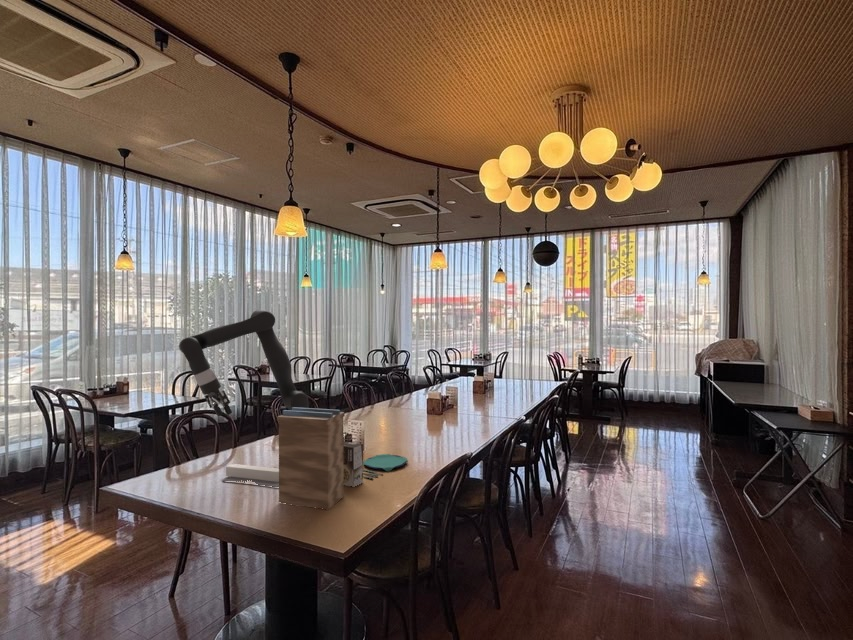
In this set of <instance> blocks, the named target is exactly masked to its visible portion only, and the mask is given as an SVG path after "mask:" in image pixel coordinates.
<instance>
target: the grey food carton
mask: <svg viewBox="0 0 853 640" xmlns="http://www.w3.org/2000/svg"><path fill="white" fill-rule="evenodd" d="M363 462H364V444H363V443H359V442H353V441H343V486H346V487H350V486H352V487H351V488H355V486H356V487H357V485H358V486H359V484H360V485H362V484H364V478H363V476H364V474H363V473H364V471H363V469H364V463H363ZM361 483H362V484H361Z"/></svg>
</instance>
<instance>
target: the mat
mask: <svg viewBox="0 0 853 640" xmlns="http://www.w3.org/2000/svg"><path fill="white" fill-rule="evenodd" d="M222 480H223V481H236V482H237V481H238V482H239V481H240V482H241V480H242V482H243V481H244V483H245V481H246V482H247V480H248V481H249V480H250V481H251V480H252V482H255V483H256V484H258V485H265V486H272V487H279V482H276V481H267V480H258V479H249V478H240V477H231V476H227V477H226V478H225V479H222Z"/></svg>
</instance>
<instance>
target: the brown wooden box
mask: <svg viewBox="0 0 853 640" xmlns="http://www.w3.org/2000/svg"><path fill="white" fill-rule="evenodd" d="M345 414H346V413H345V411H341V410H340V409H331V408H330V409H328V408H313V407H311V408H310V407H308V408H298V407H293V408H292V410H290V409H288V410H287V409H283V410H282V414H281V415H278V416H277V417H276V421H277V422H278V468H279V488H278V503H279V502H281V503H286V504H292V505H291V506H294V505H298V506H297V507H301V506H307V507H306V508H309V507H316V508H315V509H317V508H323V509H322V510H325V509H328V510H330V509H331V508H332V507H333V506H335V505H336V504H337V503H338V502H340V499H341V498H342V499H343V498H344V485H343V443H344V417H346V415H345ZM342 499H341V500H342ZM336 502H337V503H336ZM335 503H336V504H335ZM286 504H285V505H286ZM334 504H335V505H334ZM330 507H331V508H330ZM329 508H330V509H329Z"/></svg>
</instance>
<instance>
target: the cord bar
mask: <svg viewBox="0 0 853 640" xmlns="http://www.w3.org/2000/svg"><path fill="white" fill-rule="evenodd" d="M225 474H226V475H225V476H226V477H240V478H249V479H258V480H267V481H276V482H279V467H269V466H267V467H266V466H259V465H248V464H239V463H231V464H229V465H227V466H225Z"/></svg>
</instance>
